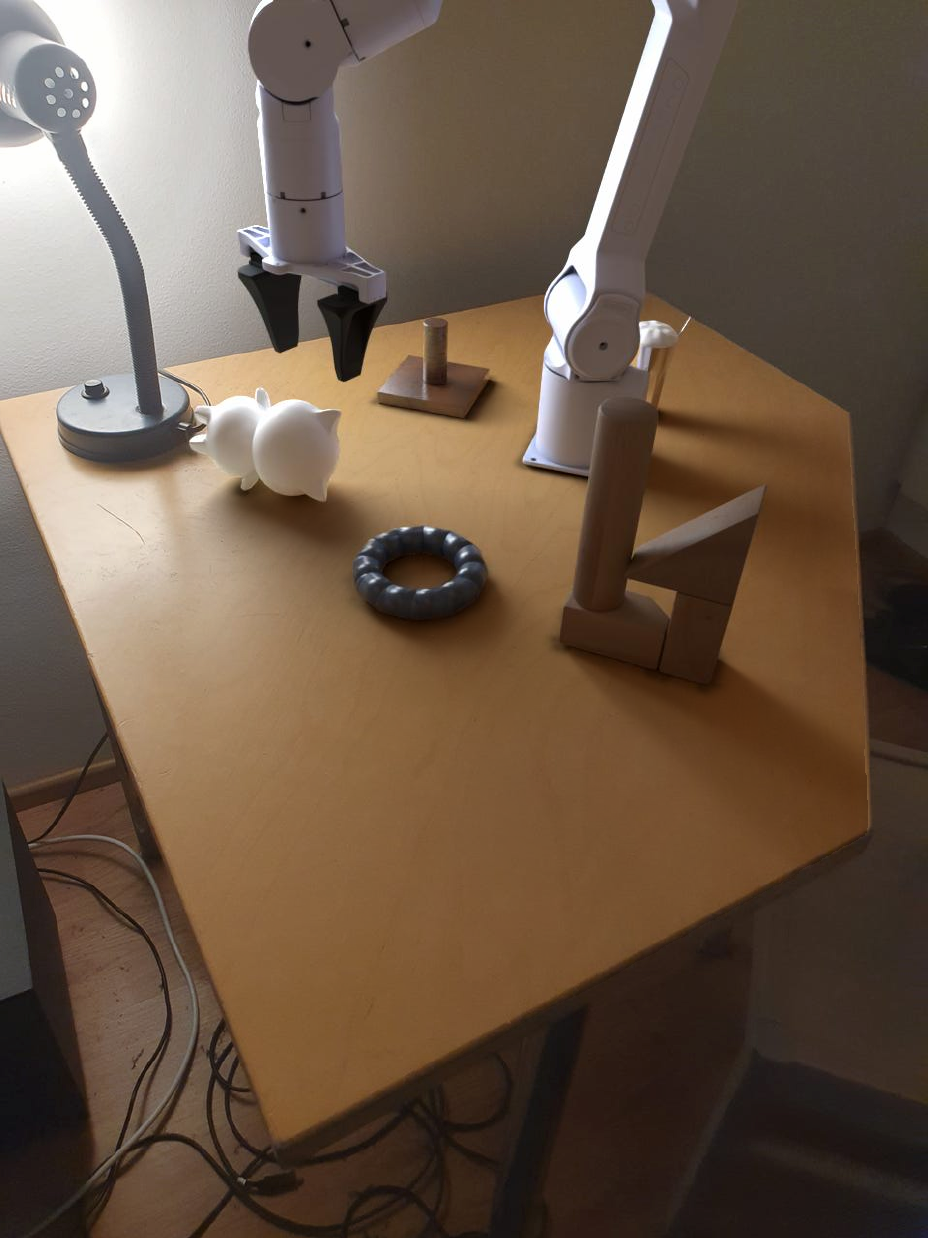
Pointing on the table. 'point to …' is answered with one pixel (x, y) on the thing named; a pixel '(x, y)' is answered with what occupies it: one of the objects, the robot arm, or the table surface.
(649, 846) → the table surface
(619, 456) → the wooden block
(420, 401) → the stand
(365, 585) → the ring
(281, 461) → the cat figurine
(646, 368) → the milkshake
